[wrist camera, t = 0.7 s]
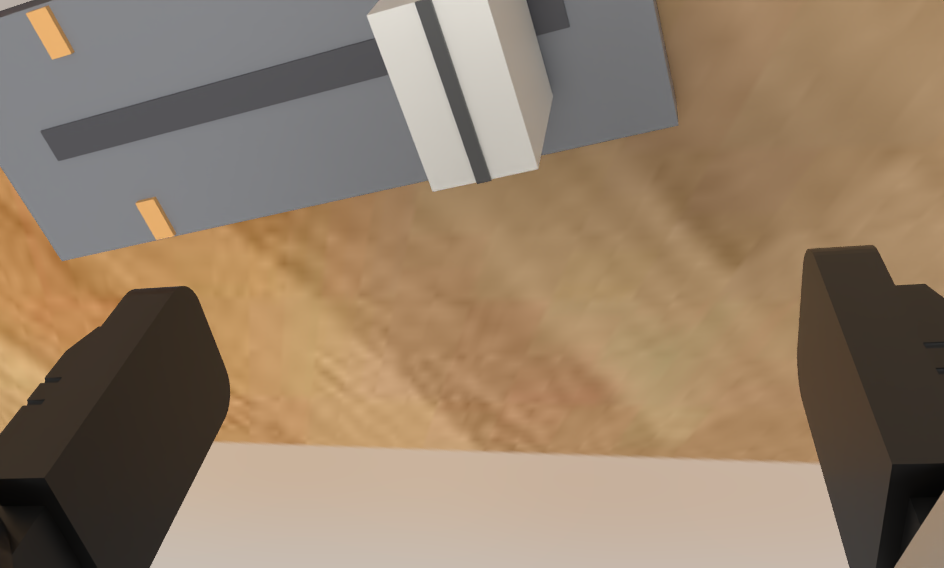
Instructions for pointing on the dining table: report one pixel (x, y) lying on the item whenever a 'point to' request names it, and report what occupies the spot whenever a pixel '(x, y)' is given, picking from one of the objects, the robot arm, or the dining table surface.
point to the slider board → (261, 107)
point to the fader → (466, 85)
